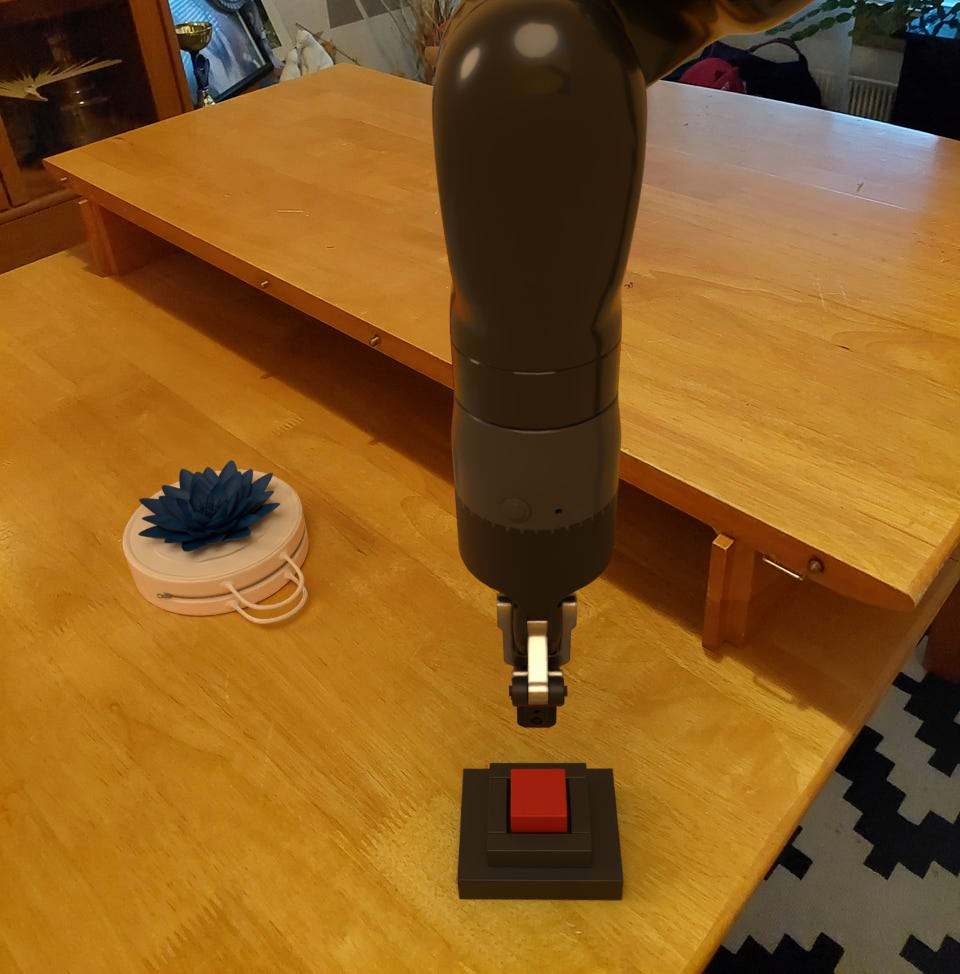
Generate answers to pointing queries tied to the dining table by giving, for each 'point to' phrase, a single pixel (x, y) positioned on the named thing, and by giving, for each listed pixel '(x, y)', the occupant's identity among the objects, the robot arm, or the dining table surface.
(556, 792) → the red button cap
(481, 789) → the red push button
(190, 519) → the lotus flower trinket box
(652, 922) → the dining table surface
